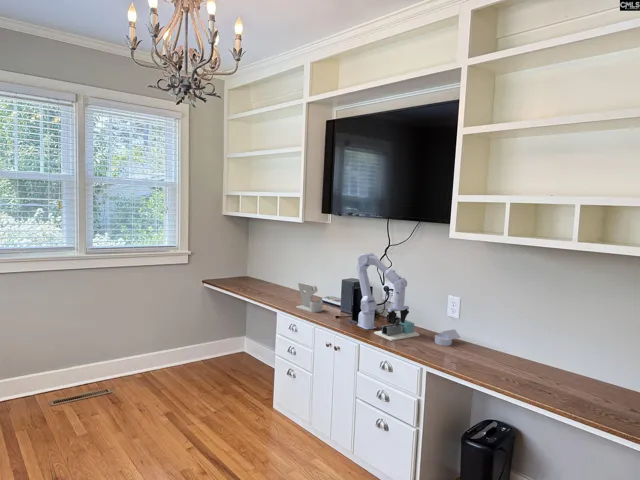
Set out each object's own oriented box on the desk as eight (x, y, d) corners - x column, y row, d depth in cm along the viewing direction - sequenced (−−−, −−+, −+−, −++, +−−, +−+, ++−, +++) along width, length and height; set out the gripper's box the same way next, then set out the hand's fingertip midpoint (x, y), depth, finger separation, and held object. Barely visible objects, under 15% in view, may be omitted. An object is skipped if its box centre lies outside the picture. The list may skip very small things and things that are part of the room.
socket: (397, 330, 258) (397, 321, 257) (404, 329, 261) (405, 319, 261) (405, 333, 252) (406, 324, 252) (413, 332, 256) (414, 323, 255)
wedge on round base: (447, 338, 251) (430, 341, 244) (448, 327, 250) (431, 329, 244) (460, 343, 243) (443, 346, 237) (461, 331, 243) (444, 334, 236)
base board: (374, 333, 253) (374, 331, 253) (401, 328, 265) (402, 327, 265) (391, 340, 241) (391, 338, 241) (419, 335, 254) (419, 333, 254)
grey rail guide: (381, 333, 250) (382, 325, 249) (394, 331, 255) (395, 323, 255) (387, 336, 246) (388, 327, 245) (400, 333, 251) (401, 325, 251)
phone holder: (324, 310, 297) (325, 284, 296) (313, 313, 290) (315, 285, 288) (305, 305, 309) (307, 279, 308) (295, 307, 302) (296, 281, 300)
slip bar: (393, 330, 253) (393, 319, 253) (405, 328, 259) (406, 317, 258) (396, 332, 251) (397, 320, 250) (409, 330, 257) (410, 319, 256)
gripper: (394, 302, 244) (393, 326, 245) (413, 300, 252) (411, 323, 253) (386, 299, 250) (384, 323, 251) (404, 297, 258) (402, 320, 259)
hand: (397, 323), depth 252 cm, fingers open, 7 cm apart
